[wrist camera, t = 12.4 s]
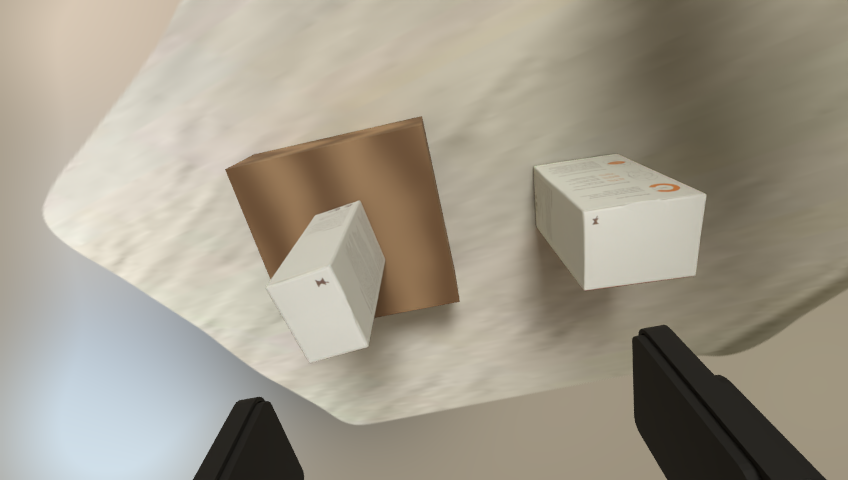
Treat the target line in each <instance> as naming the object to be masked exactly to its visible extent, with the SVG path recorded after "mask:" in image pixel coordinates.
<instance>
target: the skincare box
mask: <svg viewBox="0 0 848 480" xmlns="http://www.w3.org/2000/svg"><path fill="white" fill-rule="evenodd" d="M384 265H385V258H384V255H383V253H382V251H381V248H380V246H379V244H378V241H377V239H376V236H375V234H374V232H373V229H372V227H371V225H370V222H369V220H368V218H367V215H366V213H365V211H364V208H363V206H362V203H361V201H356V202H353V203H350V204H347V205H344V206H341V207H338V208H336V209H333V210H330V211H327V212H324V213H321V214H317V215H315V216H314V218H313V219H312V221H311V222H310V224H309V225H308V226H307V228H306V229H305V231H304V232H303V234H302V235H301V237H300V238H299V239H298V241H297V242H296V244H295V245H294V247H293V248H292V250H291V251H290V253H289V254H288V255H287V257H286V258H285V260H284V261H283V263H282V264H281V266H280V267H279V268H278V270H277V271H276V273H275V274H274V276H273V277H272V278H271V280H270V282H269V283H268V284H267V286H266V290H267V292H268V293H269V295H270V297H271V299H272V300H273V302H274V304H275V305H276V307H277V309H278V311H279V312H280V314H281V316H282V317H283V319H284V321H285V322H286V324H287V326H288V327H289V329H290V331H291V333H292V334H293V336H294V338H295V339H296V341H297V343H298V345H299V346H300V348H301V350H302V351H303V353H304V355H305V357H306V358H307V360H308V362H309V363H313V362H317V361H320V360H323V359H327V358H330V357H334V356H338V355H342V354H345V353H349V352H353V351H356V350H360V349H364V348H367V347H368V346H369V342H370V336H371V331H372V326H373V321H374V316H375V311H376V306H377V301H378V296H379V291H380V285H381V280H382V275H383V270H384Z"/></svg>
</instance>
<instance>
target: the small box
mask: <svg viewBox="0 0 848 480" xmlns="http://www.w3.org/2000/svg"><path fill="white" fill-rule="evenodd" d="M534 187H535V207H536V227H537V228H538V230H539V231H540V232H541V234H542V235H543V236H544V238H545V239H546V240H547V242H548V243H549V245H550V246H551V247H552V249H553V250H554V251H555V252H556V254H557V255H558V257H559V258H560V259H561V261H562V262H563V263H564V265H565V266H566V267H567V269H568V270H569V271H570V273H571V274H572V275H573V277H574V278H575V279H576V281H577V282H578V283H579V285H580V286H581V287H582V288H583V290H584V291H588V290H595V289H602V288H610V287H618V286H625V285H632V284H640V283H647V282H654V281H662V280H669V279H677V278H684V277H692V276H695V275H696V269H697V261H698V253H699V245H700V237H701V230H702V223H703V217H704V210H705V203H706V197H707V195H706V194H705V193H703V192H701V191H698V190H696V189H694V188H692V187H690V186H687V185H685V184H683V183H681V182H679V181H676V180H674V179H672V178H670V177H668V176H665V175H663V174H661V173H659V172H657V171H654V170H652V169H650V168H648V167H646V166H643V165H641V164H639V163H637V162H634V161H632V160H630V159H628V158H626V157H623V156H621V155H619V154H611V155H604V156H597V157H590V158H583V159H577V160H570V161H564V162H557V163H551V164H545V165H538V166H534Z"/></svg>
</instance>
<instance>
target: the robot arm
mask: <svg viewBox="0 0 848 480" xmlns="http://www.w3.org/2000/svg"><path fill="white" fill-rule="evenodd" d="M632 349H633V384H634V385H633V387H634V418H635V423H636V426H637V428H638V431H639V433H640V434H641V436H642V438H643V439H644V441H645V443H646V444H647V446H648V448H649V450H650V451H651V453H652V455H653V456H654V458H655V460H656V461H657V463H658V465H659V466H660V468H661V470H662V472H663V473H664V475H665V477H666V478H667V480H826V479H825V478H824V477H823V476H822V475H821V474H820V473H819V472H818V471H817V470H816V469H815V468H814V467H813V466H812V464H811V463H810V462H809V461H807V459H806V458H805V457H804V456H803V455H802V454H801V453H800V452H799V451H798V450H797V449H796V448H795V447H794V446H793V445H792V444H791V443H790V442H789V441H788V440H787V439H786V438H785V437H784V436H783V435H782V434H781V433H780V432H779V431H778V430H777V429H776V428H775V427H774V426H773V425H772V424H771V423H770V422H769V421H768V420H767V419H766V417H764V416H763V414H762V413H760V411H759V410H758V409H757V408H756V407H755V406H754V405H753V404H752V403H751V402H750V401H749V400H748V399H747V398H746V397H745V396H744V395H743V394H742V393H741V392H740V391H739V390H738V389H737V388H736V387H735V386H734V385H733V384H732V383H731V382H730V381H729V380H728V379H727V378H725V377H723V376H721V375H714V374H713V373H712V372H711V371H710V370H709V369H708V368H707V367H706V366H705V365H704V364H703V363H702V362H701V361H700V360H699V358H698V357H697V356H696V355H695V354H694V353H693V352H692V351H691V350H690V349H689V348H688V347H687V346H686V345H685V344H684V343H683V342H682V341H681V339H680V338H679V337H678V336H677V335H676V334H675V333H674V332H673V331H672V330H671V329H670V328H669V327H668V326H666V325H661V326H655V327H649V328H644V329H640V331H639V335H638V336H634V337H633V339H632ZM193 480H304V473H303V470H302V467H301V465H300V464H299V461H298V459H297V457H296V455H295V453H294V451H293V449H292V447H291V444H290V443H289V440H288V438H287V436H286V434H285V432H284V430H283V428H282V425H281V423H280V421H279V419H278V417H277V415H276V413H275V411H274V409H273V407H272V405H271V403H270V402H268V401H266V402H265V400H264V399H263V398H262V397H256V398H250V399H245V400H239V401H238V402H236V404H235V405H234V407H233V409H232V410H231V412H230V414H229V416H228V418H227V419H226V421H225V423H224V425H223V427H222V428H221V430H220V432H219V434H218V436H217V437H216V439H215V441H214V443H213V445H212V446H211V448H210V450H209V452H208V454H207V455H206V457H205V459H204V461H203V463H202V464H201V466H200V468H199V470H198V472H197V473H196V475H195V477H194V479H193Z"/></svg>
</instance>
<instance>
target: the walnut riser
mask: <svg viewBox="0 0 848 480" xmlns="http://www.w3.org/2000/svg"><path fill="white" fill-rule="evenodd" d="M225 170H226V172H227V175H228V177H229V180H230V182H231V184H232V187H233V189H234V192H235V194H236V197H237V199H238V201H239V204H240V206H241V209H242V211H243V214H244V216H245V218H246V221H247V223H248V226H249V228H250V230H251V233H252V235H253V238H254V240H255V243H256V245H257V247H258V250H259V252H260V255H261V257H262V260H263V262H264V264H265V267H266V269H267V272H268V274H269V276H270V279H271V278H272V277H273V276H274V274H275V273H276V271H277V270H278V268H279V267H280V266H281V264H282V263H283V261H284V260H285V258H286V257H287V255H288V254H289V253H290V251H291V250H292V248H293V247H294V245H295V244H296V242H297V241H298V239H299V238H300V237H301V235H302V234H303V232H304V231H305V229H306V228H307V226H308V225H309V224H310V222H311V221H312V219H313V218H314V216H315V215H317V214H321V213H324V212H327V211H330V210H333V209H336V208H338V207H341V206H344V205H347V204H350V203H353V202H356V201H361V203H362V206H363V208H364V211H365V213H366V215H367V218H368V220H369V222H370V225H371V227H372V229H373V232H374V234H375V236H376V239H377V241H378V244H379V246H380V248H381V251H382V253H383V255H384V258H385V265H384V270H383V275H382V280H381V285H380V291H379V296H378V301H377V306H376V311H375V316H374V318H375V317H381V316H386V315H391V314H396V313H402V312H407V311H412V310H417V309H423V308H428V307H433V306H439V305H444V304H449V303H454V302H460V300H459V294H458V288H457V282H456V275H455V270H454V265H453V260H452V255H451V251H450V246H449V241H448V237H447V232H446V227H445V223H444V218H443V213H442V209H441V204H440V199H439V194H438V190H437V185H436V180H435V176H434V171H433V166H432V162H431V157H430V152H429V147H428V143H427V138H426V133H425V129H424V124H423V119H422V116H421V117H417V118H412V119H408V120H404V121H399V122H395V123H390V124H386V125H382V126H377V127H373V128H369V129H364V130H360V131H355V132H351V133H347V134H342V135H338V136H333V137H329V138H325V139H320V140H316V141H312V142H307V143H303V144H298V145H294V146H290V147H285V148H281V149H276V150H272V151H268V152H263V153H259V154H254V155H252V156H250V157H248V158H246V159H245V160H243V161H241V162H239V163H237V164H235V165H233V166H231V167H229V168H227V169H225Z"/></svg>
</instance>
